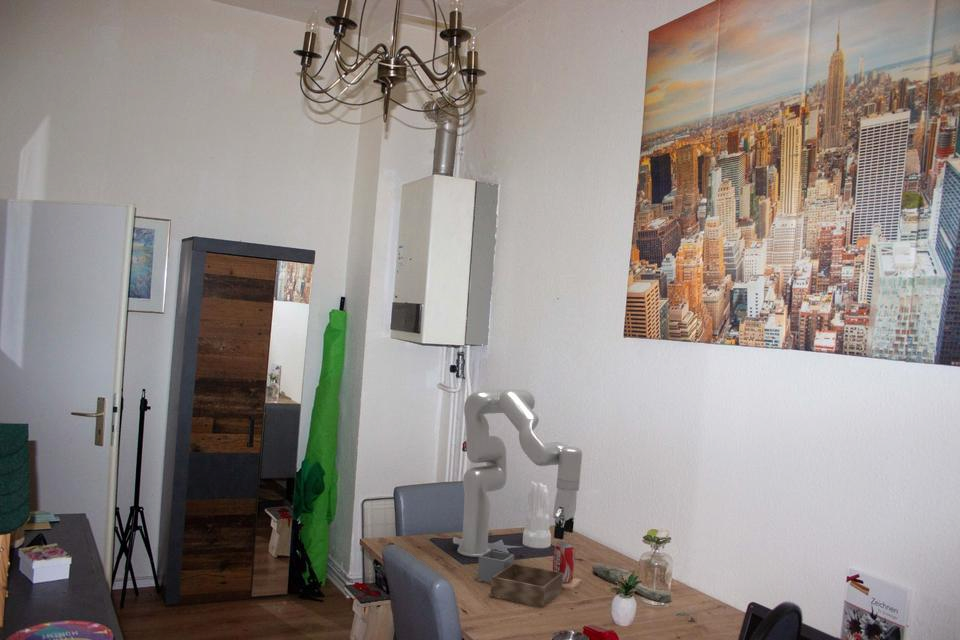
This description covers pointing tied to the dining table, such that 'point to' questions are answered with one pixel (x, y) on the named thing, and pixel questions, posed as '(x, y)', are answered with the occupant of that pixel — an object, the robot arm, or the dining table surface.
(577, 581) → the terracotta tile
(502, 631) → the dining table surface
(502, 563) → the charcoal crate
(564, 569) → the soda can
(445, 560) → the dining table surface
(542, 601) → the walnut crate
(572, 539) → the dining table surface
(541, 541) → the decorative vase
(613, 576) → the long grey stone
